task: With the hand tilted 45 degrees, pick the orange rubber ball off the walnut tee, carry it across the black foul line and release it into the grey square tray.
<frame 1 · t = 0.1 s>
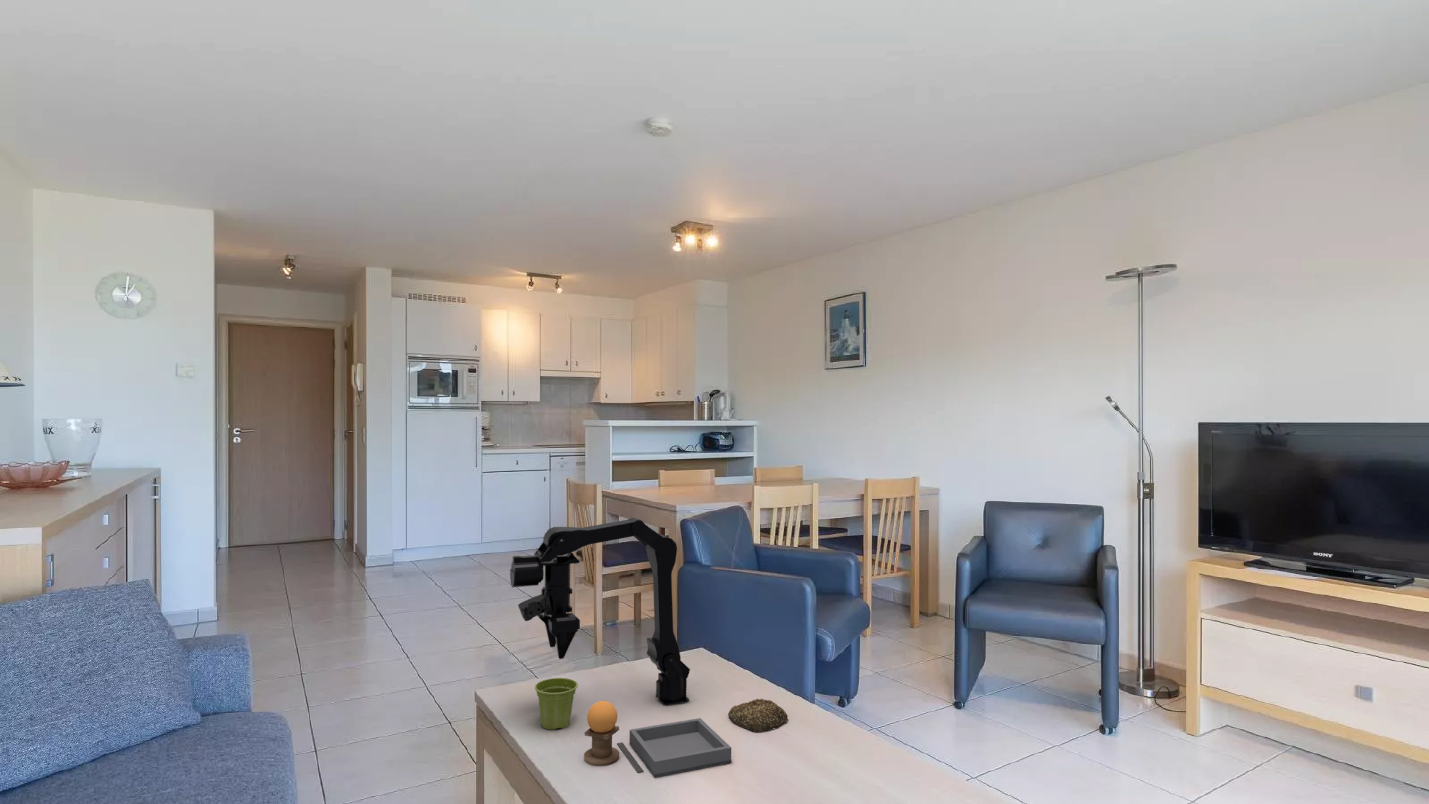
hand: (556, 652, 171), 15 cm above the table, tool pointing down, fingers open, 9 cm apart
ball: (602, 732, 151), point 5 cm above the table, touching tee
tee: (601, 757, 151), on the table
foul line: (629, 757, 151), on the table
plant pot: (555, 725, 167), on the table
brown speckled mound: (759, 722, 171), on the table
grey square tray: (678, 753, 153), on the table
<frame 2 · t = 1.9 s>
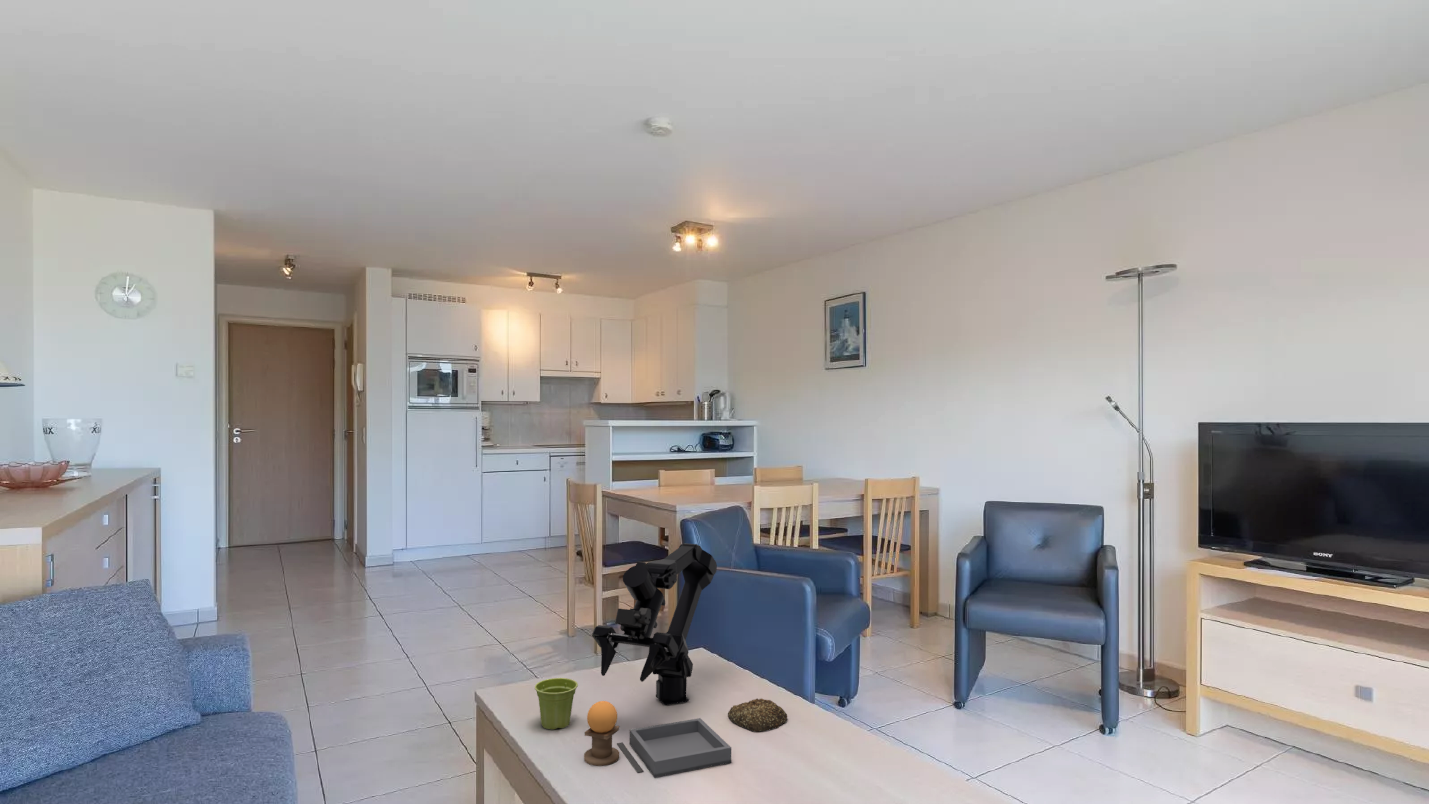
hand: (621, 677, 159), 13 cm above the table, tool tilted 45°, fingers open, 9 cm apart
nothing on the table moved.
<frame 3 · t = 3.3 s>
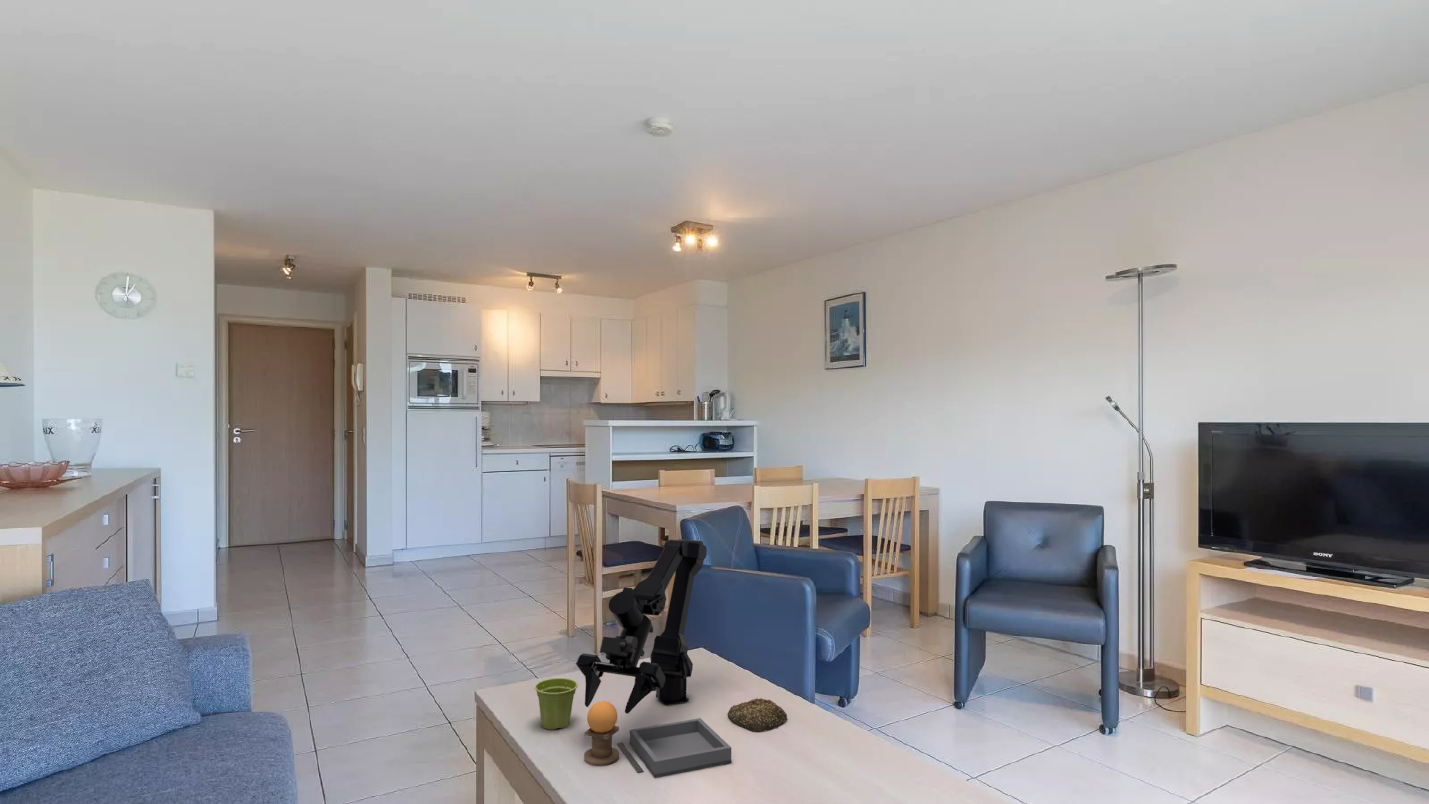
hand: (606, 709, 152), 9 cm above the table, tool tilted 45°, fingers open, 9 cm apart
nothing on the table moved.
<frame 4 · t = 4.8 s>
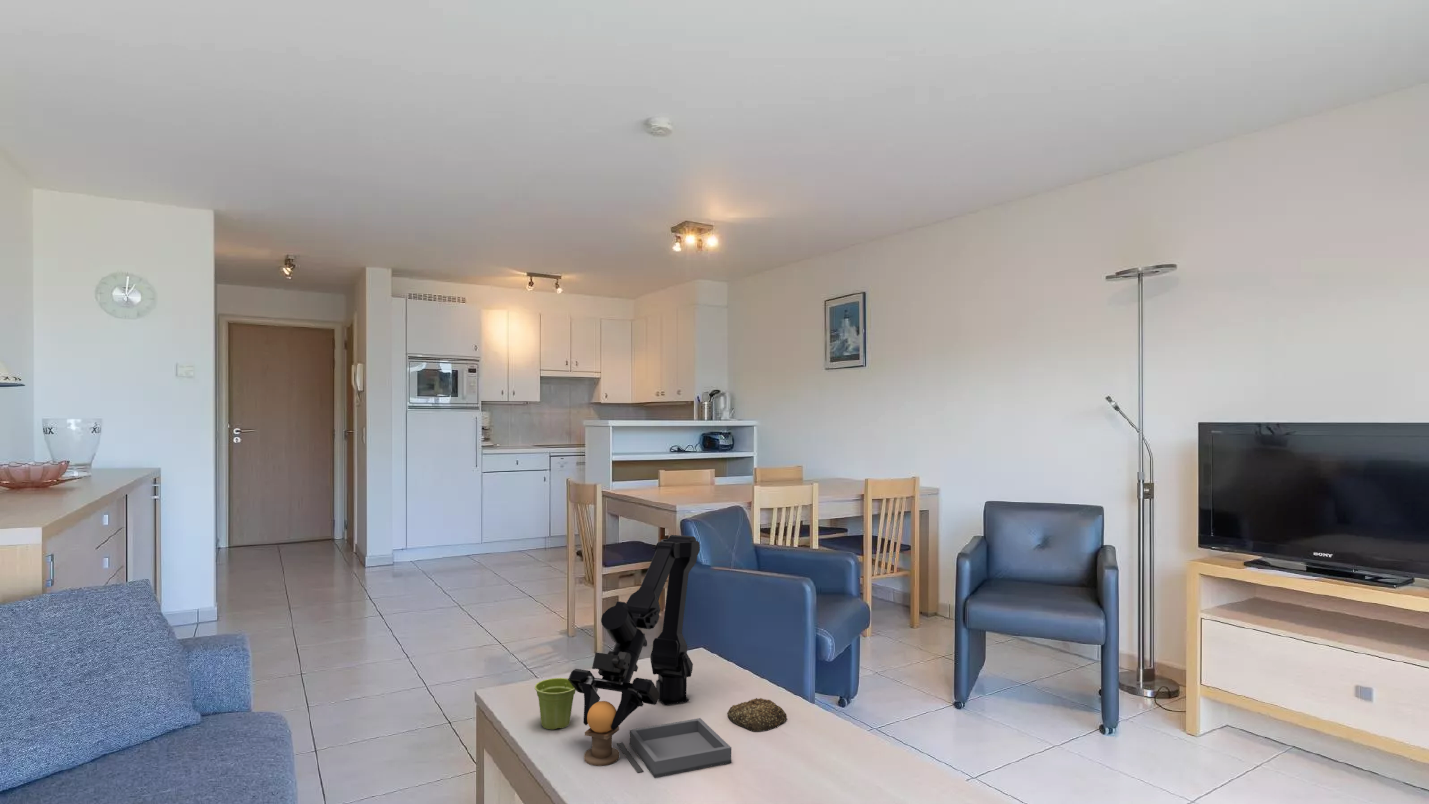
hand: (598, 726, 150), 7 cm above the table, tool tilted 45°, fingers closed on ball, 6 cm apart
ball: (602, 732, 151), point 5 cm above the table, touching gripper, tee
everything else where it was.
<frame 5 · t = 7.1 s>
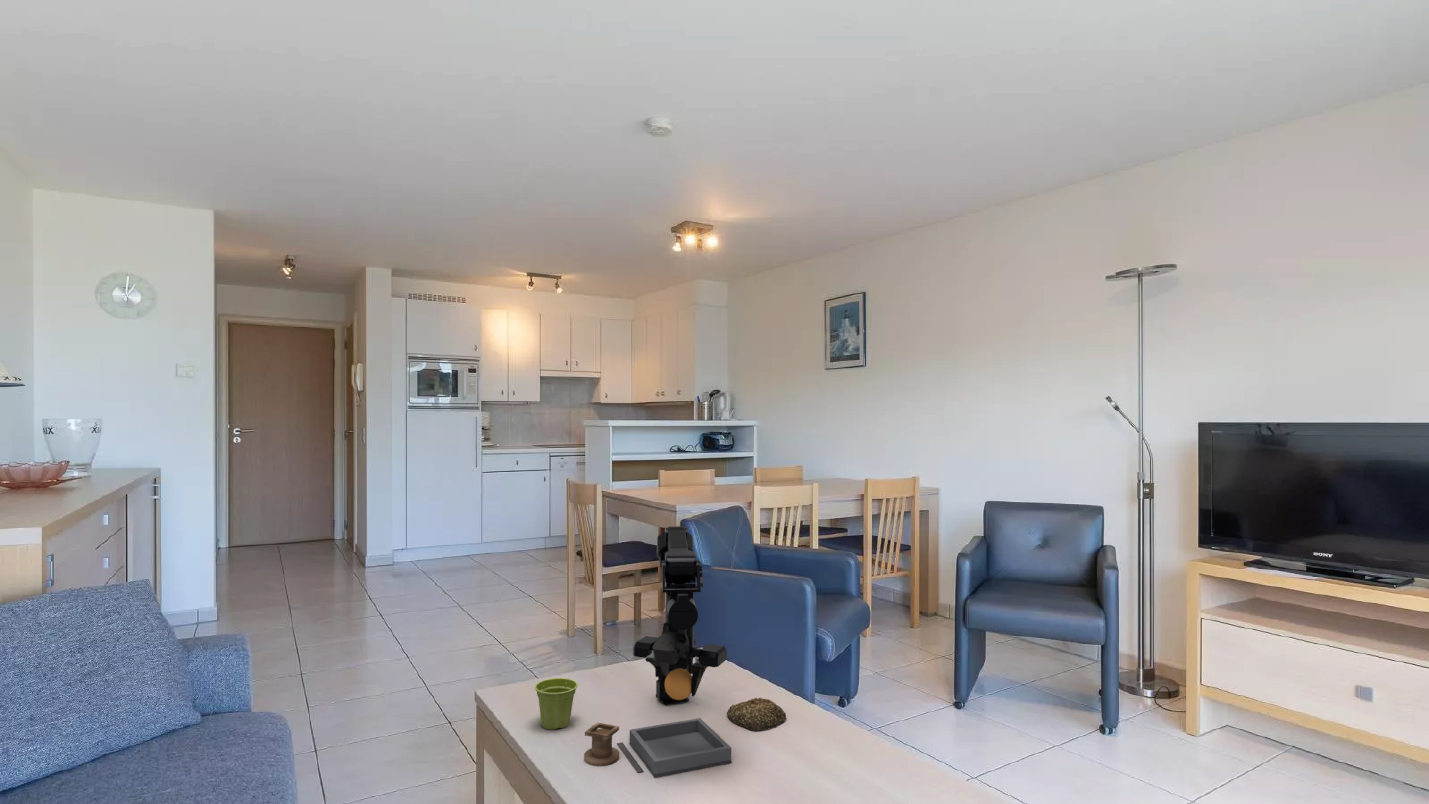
hand: (679, 693, 154), 12 cm above the table, tool pointing down, fingers closed on ball, 6 cm apart
ball: (683, 691, 155), point 12 cm above the table, tilted 45°, touching gripper
everything else where it was.
when the fingers open (4 cm above the table, at t = 8.4 s): ball drops 2 cm, resting on grey square tray.
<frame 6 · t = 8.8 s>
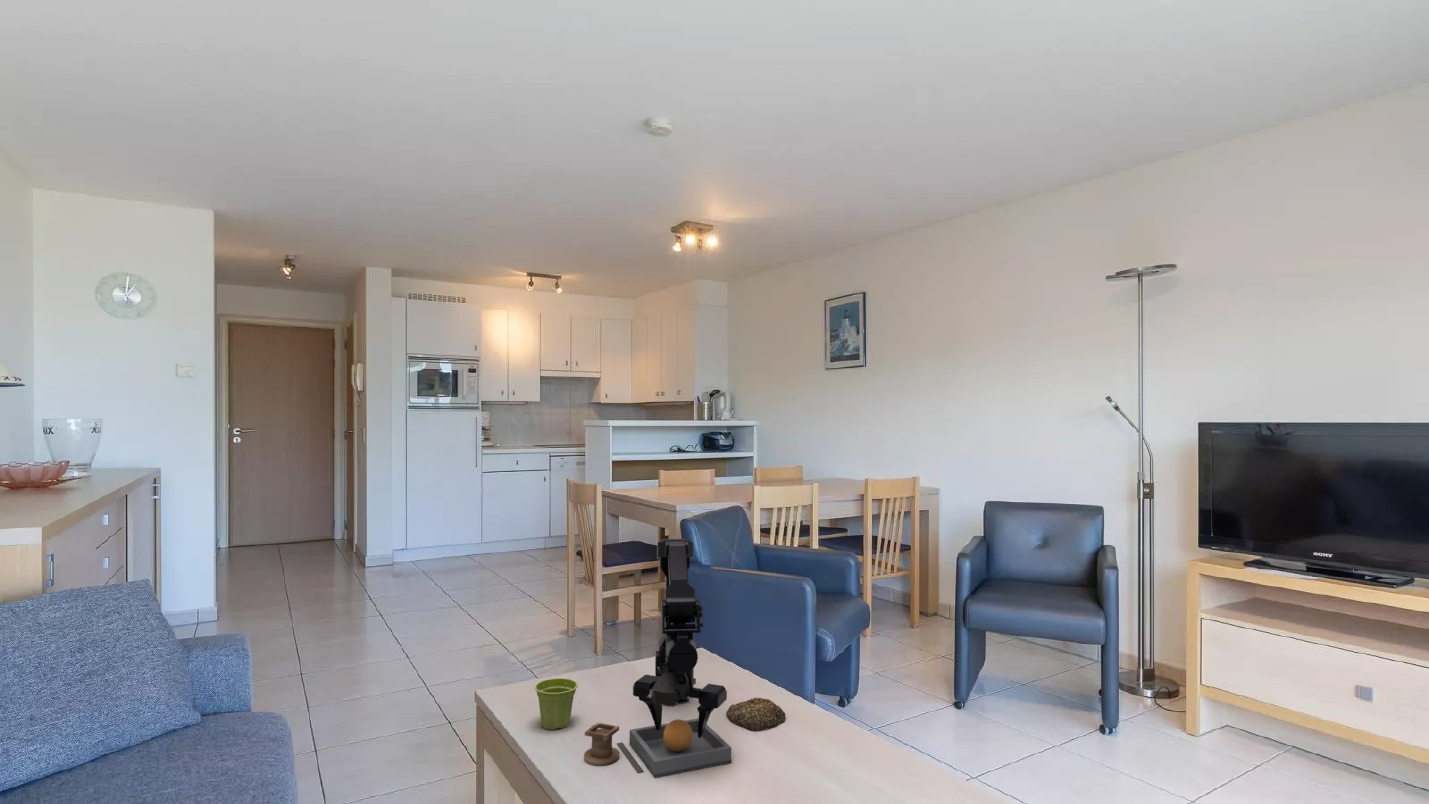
hand: (679, 733, 153), 4 cm above the table, tool pointing down, fingers open, 9 cm apart
ball: (682, 741, 155), point 1 cm above the table, tilted 45°, touching grey square tray
everything else where it was.
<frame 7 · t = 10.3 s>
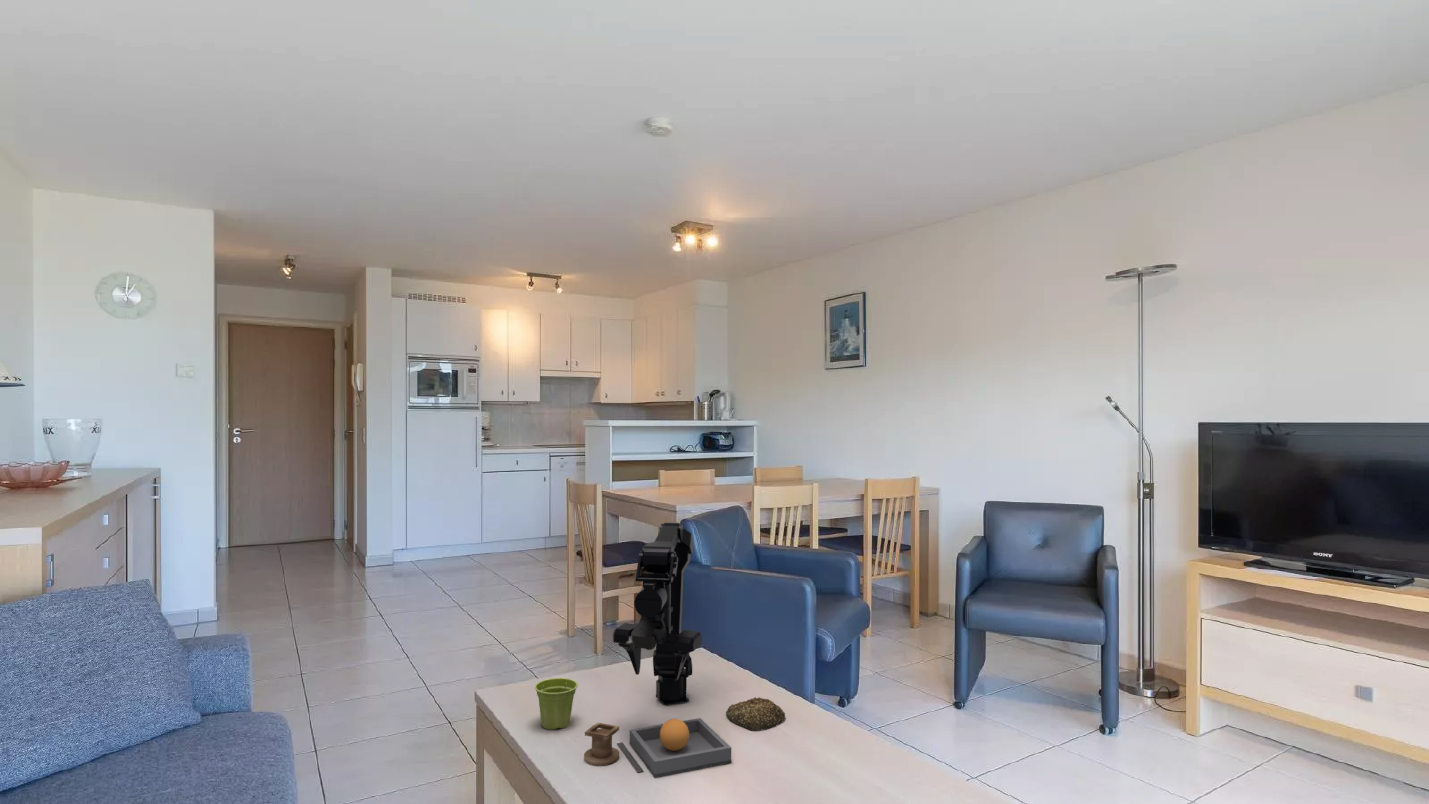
hand: (656, 676, 162), 12 cm above the table, tool pointing down, fingers open, 9 cm apart
nothing on the table moved.
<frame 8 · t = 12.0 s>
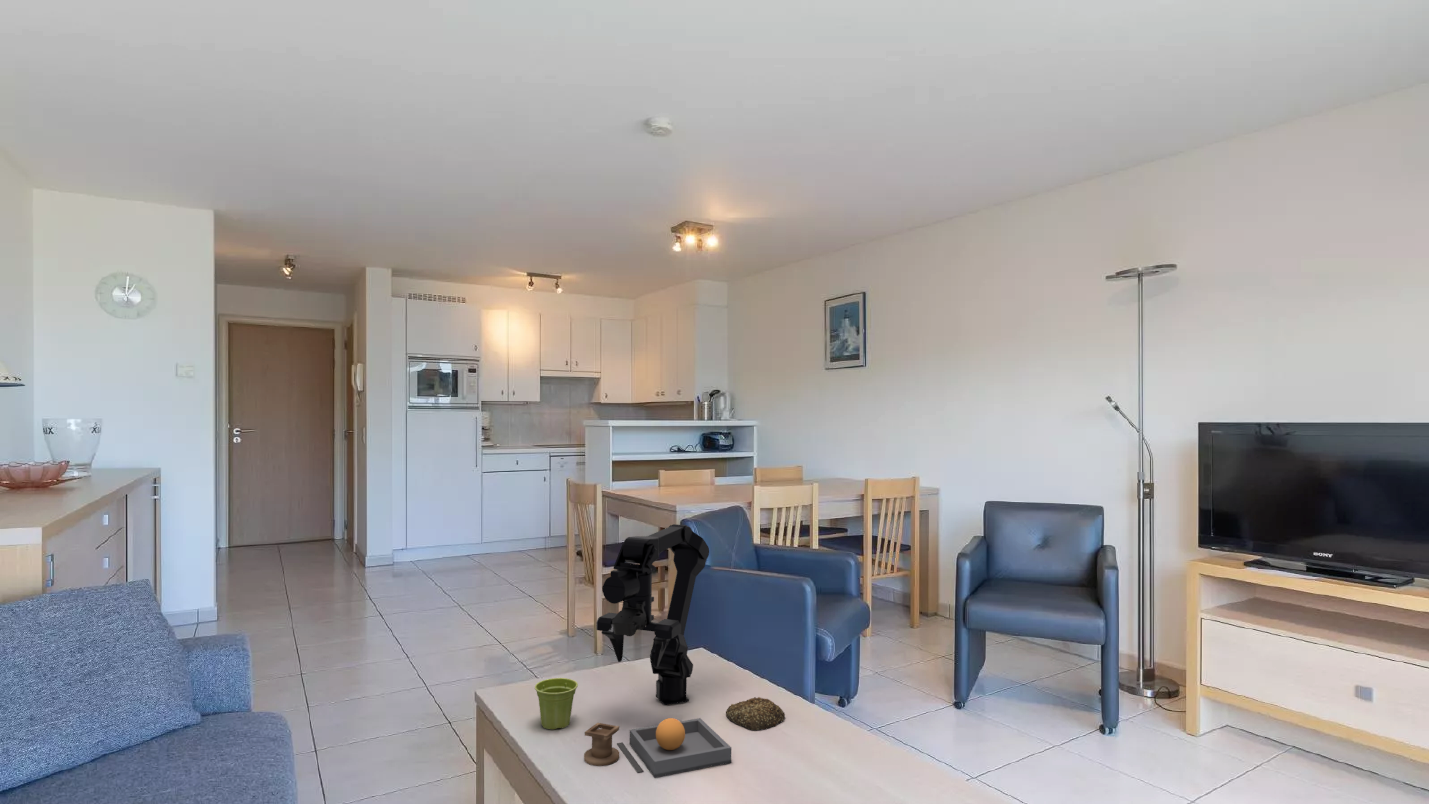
hand: (638, 664, 169), 13 cm above the table, tool pointing down, fingers open, 9 cm apart
ball: (680, 739, 155), point 2 cm above the table, tilted 56°, touching grey square tray
at the end: ball inside the target area on the grey square tray (2.1 cm from its centre), point 1.9 cm above the grey square tray's base; the gripper is holding nothing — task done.
